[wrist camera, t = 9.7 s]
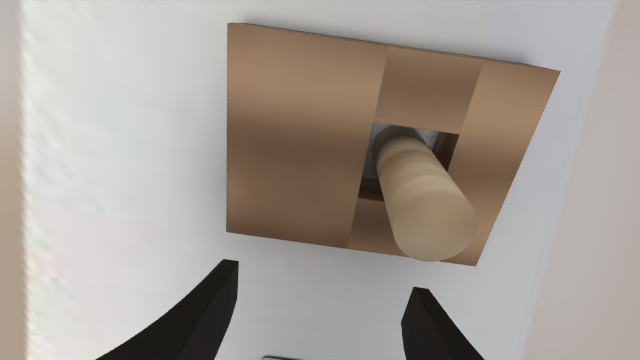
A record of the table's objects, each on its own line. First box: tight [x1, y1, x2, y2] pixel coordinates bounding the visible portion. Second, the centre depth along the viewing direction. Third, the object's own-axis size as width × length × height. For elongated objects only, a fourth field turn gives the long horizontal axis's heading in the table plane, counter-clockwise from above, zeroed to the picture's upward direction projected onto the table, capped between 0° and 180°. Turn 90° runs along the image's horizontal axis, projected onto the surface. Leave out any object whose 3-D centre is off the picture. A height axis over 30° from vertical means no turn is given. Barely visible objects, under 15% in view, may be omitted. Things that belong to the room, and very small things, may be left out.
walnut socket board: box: [226, 23, 561, 266], centre depth 19 cm, size 12×16×3 cm
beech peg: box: [372, 125, 478, 262], centre depth 17 cm, size 3×3×9 cm
